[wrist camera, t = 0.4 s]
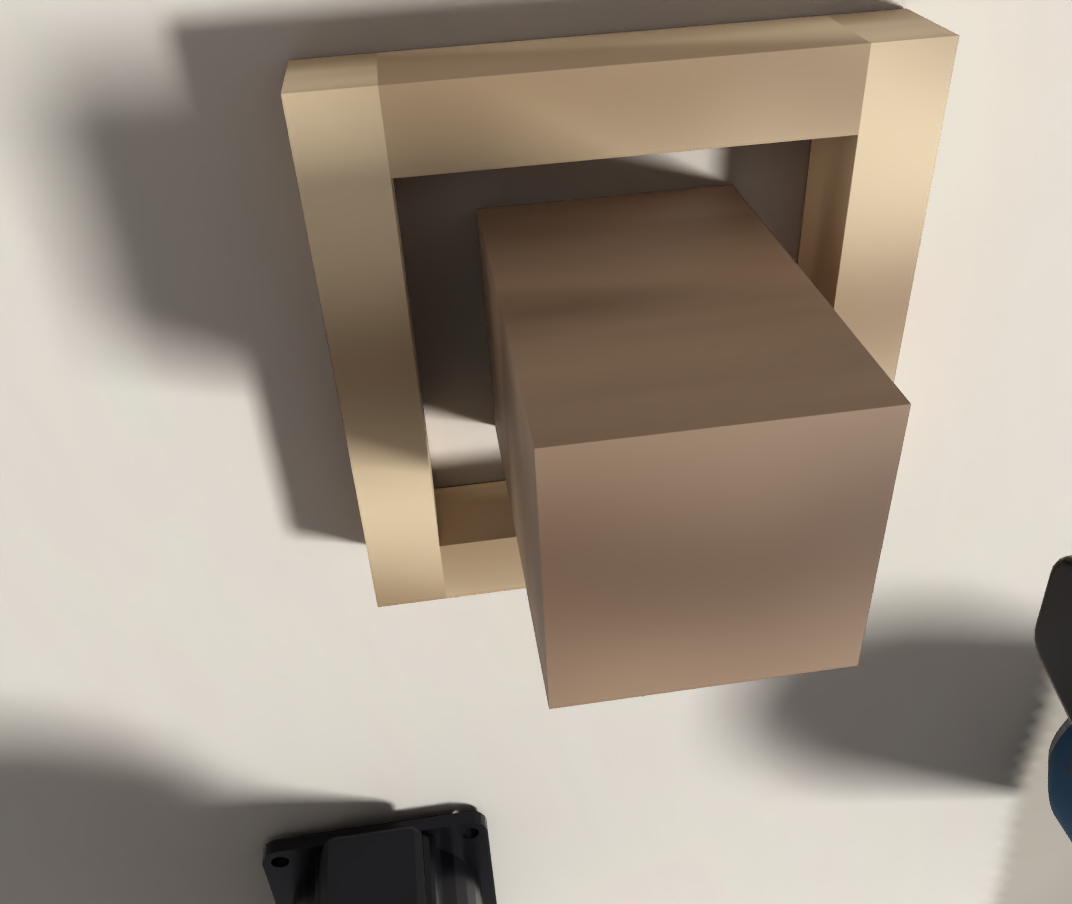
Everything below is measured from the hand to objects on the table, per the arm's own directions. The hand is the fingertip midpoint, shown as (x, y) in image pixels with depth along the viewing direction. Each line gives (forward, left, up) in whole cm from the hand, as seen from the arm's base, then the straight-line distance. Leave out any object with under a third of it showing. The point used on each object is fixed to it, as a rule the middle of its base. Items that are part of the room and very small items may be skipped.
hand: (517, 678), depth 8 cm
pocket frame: (-4, -3, -13) cm, 14 cm away
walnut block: (-4, -3, -13) cm, 14 cm away
